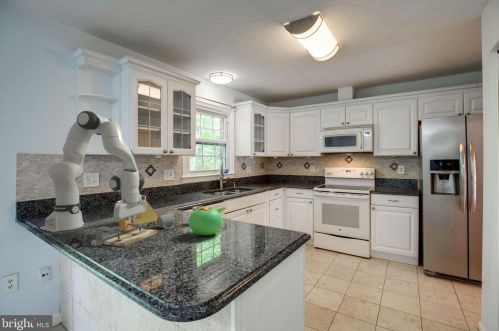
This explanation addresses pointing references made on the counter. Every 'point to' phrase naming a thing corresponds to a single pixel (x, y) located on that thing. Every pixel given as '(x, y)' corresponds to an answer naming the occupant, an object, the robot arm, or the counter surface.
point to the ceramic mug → (166, 221)
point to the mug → (197, 208)
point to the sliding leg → (127, 225)
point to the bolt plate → (130, 237)
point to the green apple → (206, 220)
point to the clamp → (145, 215)
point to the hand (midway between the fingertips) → (131, 223)
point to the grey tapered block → (107, 235)
